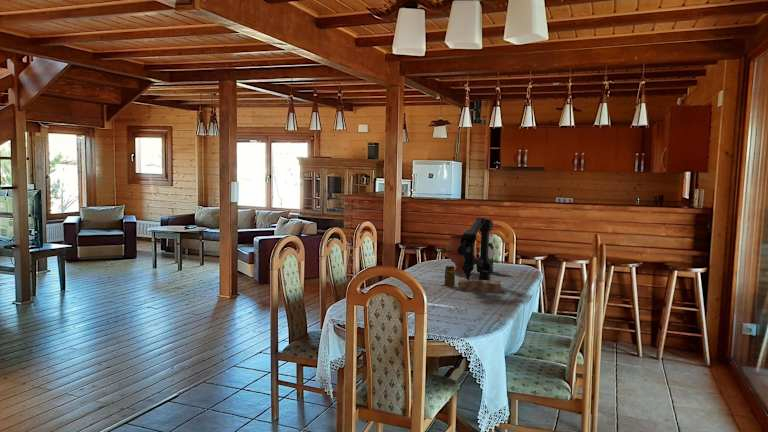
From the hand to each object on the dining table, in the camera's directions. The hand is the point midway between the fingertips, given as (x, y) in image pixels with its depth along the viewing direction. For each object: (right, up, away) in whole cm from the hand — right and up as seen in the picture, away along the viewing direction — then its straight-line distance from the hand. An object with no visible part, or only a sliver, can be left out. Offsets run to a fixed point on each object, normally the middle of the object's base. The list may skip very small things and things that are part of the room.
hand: (468, 279), depth 340 cm
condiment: (-11, -5, +9) cm, 15 cm away
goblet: (+2, -1, +56) cm, 57 cm away
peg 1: (0, -5, 0) cm, 5 cm away
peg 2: (+13, -6, -2) cm, 14 cm away
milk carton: (+21, -1, +61) cm, 64 cm away
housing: (+6, -6, -1) cm, 9 cm away
